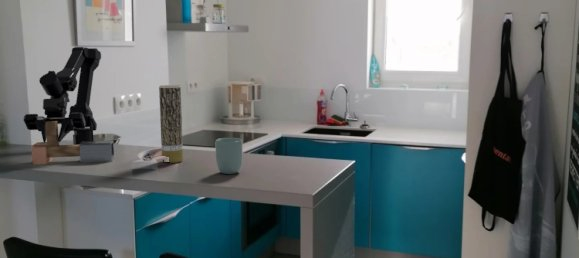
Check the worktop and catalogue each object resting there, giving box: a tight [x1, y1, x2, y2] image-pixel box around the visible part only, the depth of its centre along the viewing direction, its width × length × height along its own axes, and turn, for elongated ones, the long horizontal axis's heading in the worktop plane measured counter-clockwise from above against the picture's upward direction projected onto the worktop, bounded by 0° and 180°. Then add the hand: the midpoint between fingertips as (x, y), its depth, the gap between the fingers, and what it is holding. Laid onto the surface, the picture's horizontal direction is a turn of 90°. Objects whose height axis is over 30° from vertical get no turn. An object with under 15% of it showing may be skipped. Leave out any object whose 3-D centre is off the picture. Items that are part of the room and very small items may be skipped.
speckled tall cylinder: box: [158, 84, 184, 164], centre depth 190 cm, size 7×7×25 cm
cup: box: [214, 137, 244, 175], centre depth 173 cm, size 8×8×10 cm
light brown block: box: [30, 141, 53, 166], centre depth 192 cm, size 4×7×6 cm, turn 7°
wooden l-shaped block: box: [45, 121, 80, 158], centre depth 192 cm, size 16×3×12 cm, turn 98°
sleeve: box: [79, 140, 115, 163], centre depth 194 cm, size 10×5×6 cm, turn 98°
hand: (51, 141), depth 190 cm, fingers open, 4 cm apart
